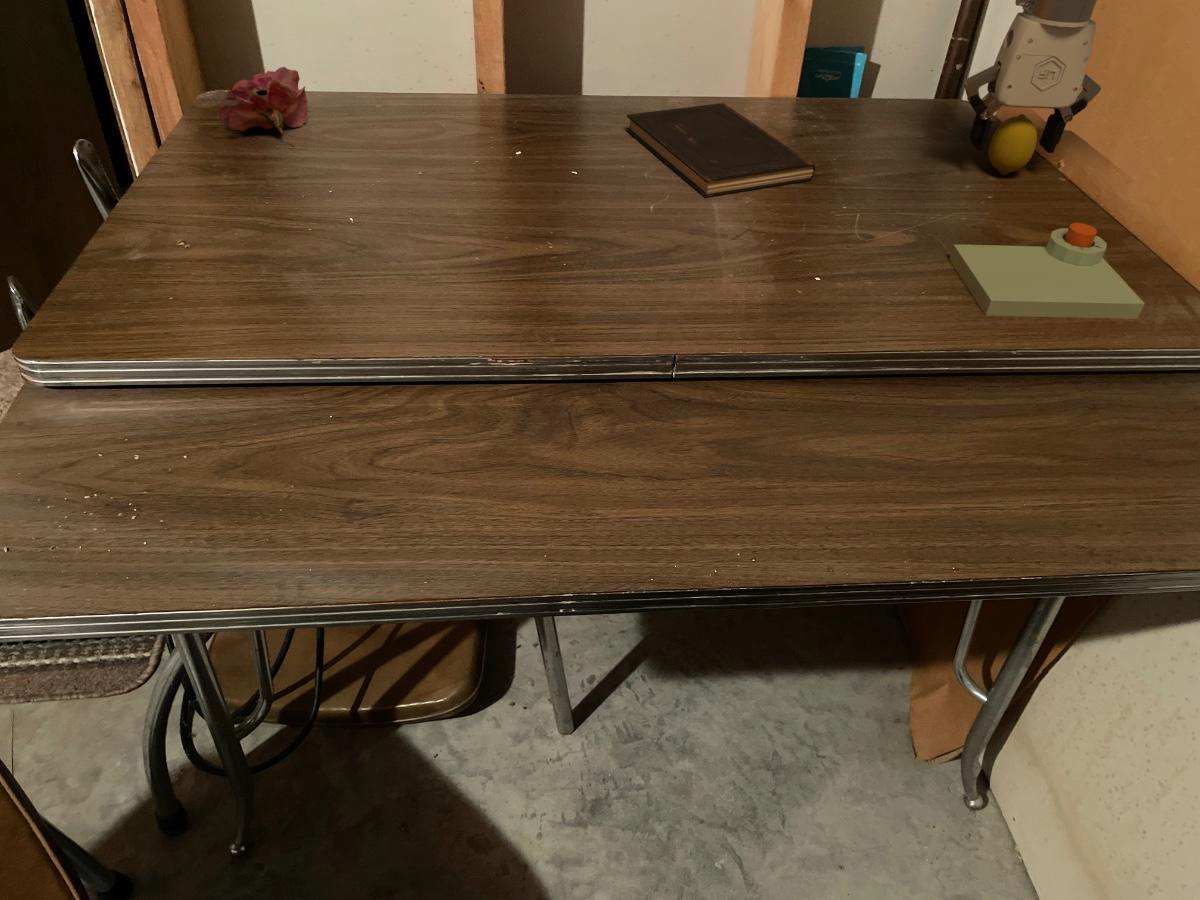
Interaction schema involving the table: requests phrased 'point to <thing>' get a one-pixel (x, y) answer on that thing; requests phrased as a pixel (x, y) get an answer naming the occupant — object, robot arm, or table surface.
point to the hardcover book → (718, 149)
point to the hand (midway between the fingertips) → (1011, 147)
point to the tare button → (1080, 235)
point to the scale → (1045, 280)
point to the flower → (266, 102)
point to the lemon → (1013, 144)
